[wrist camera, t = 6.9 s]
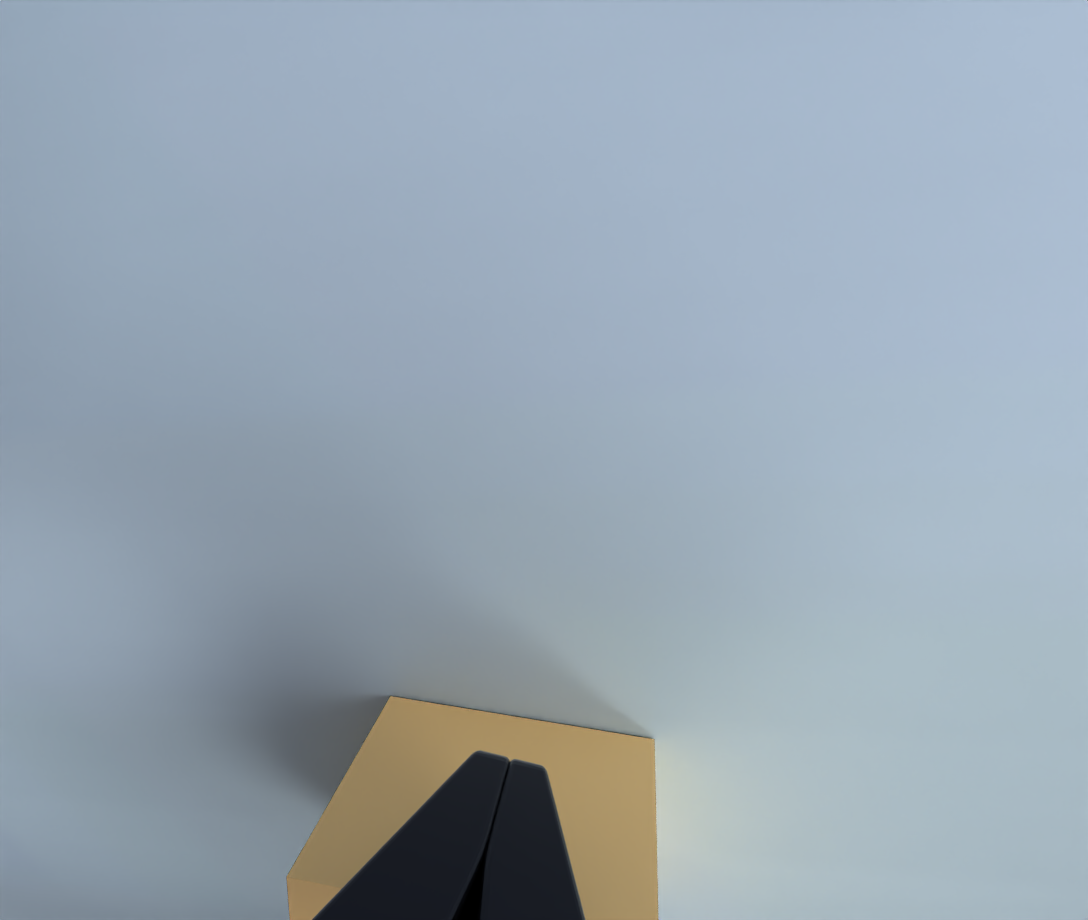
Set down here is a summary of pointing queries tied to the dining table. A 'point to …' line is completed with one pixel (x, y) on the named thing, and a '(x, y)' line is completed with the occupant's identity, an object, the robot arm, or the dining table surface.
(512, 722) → the plug
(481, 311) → the dining table surface
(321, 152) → the dining table surface
